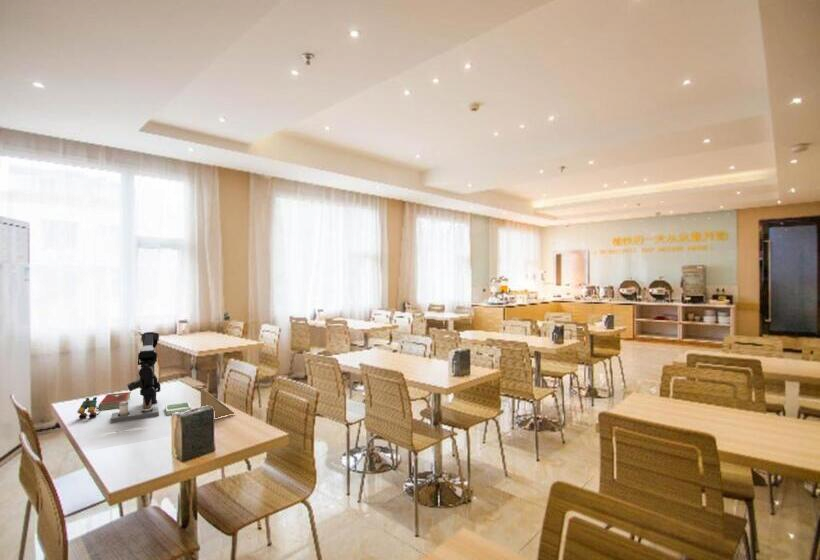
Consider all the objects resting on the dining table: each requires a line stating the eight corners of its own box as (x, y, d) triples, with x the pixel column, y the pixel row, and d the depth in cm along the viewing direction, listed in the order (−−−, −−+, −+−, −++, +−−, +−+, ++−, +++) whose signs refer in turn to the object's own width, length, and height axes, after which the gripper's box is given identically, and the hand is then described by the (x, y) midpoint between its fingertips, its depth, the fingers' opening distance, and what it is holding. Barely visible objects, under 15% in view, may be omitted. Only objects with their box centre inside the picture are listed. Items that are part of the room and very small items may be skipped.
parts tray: (165, 409, 228) (165, 405, 228) (188, 406, 234) (188, 402, 234) (166, 416, 218) (166, 411, 218) (191, 412, 224) (191, 407, 224)
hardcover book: (98, 411, 227) (98, 403, 227) (106, 401, 246) (106, 393, 246) (125, 408, 232) (125, 400, 232) (130, 398, 251) (130, 391, 251)
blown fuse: (143, 410, 219) (143, 394, 219) (151, 408, 221) (151, 393, 221) (143, 411, 216) (143, 396, 216) (151, 410, 218) (151, 395, 218)
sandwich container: (237, 415, 220) (237, 386, 220) (206, 421, 210) (206, 391, 210) (231, 411, 227) (231, 383, 227) (200, 417, 216) (200, 388, 216)
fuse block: (112, 418, 214) (112, 413, 214) (158, 411, 225) (158, 406, 225) (111, 423, 206) (111, 418, 206) (158, 416, 217) (158, 411, 217)
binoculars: (78, 423, 213) (73, 409, 208) (84, 408, 220) (79, 395, 215) (99, 421, 216) (95, 408, 211) (105, 407, 223) (101, 394, 218)
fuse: (119, 417, 213) (119, 401, 213) (128, 416, 215) (128, 400, 215) (119, 419, 210) (119, 403, 210) (128, 418, 212) (128, 402, 212)
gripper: (128, 372, 222) (128, 402, 222) (128, 379, 206) (128, 412, 206) (153, 370, 228) (153, 399, 228) (154, 377, 212) (154, 408, 212)
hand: (147, 404), depth 218 cm, fingers closed on blown fuse, 4 cm apart
